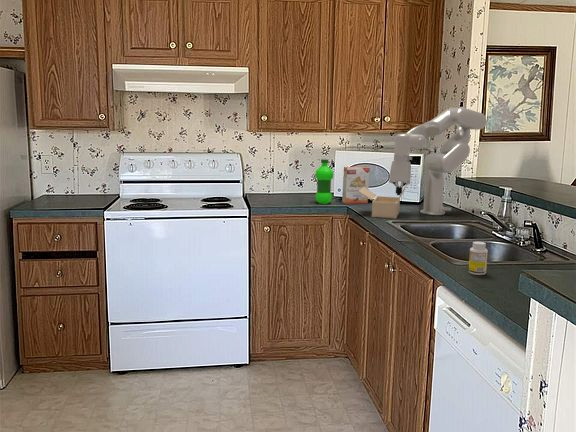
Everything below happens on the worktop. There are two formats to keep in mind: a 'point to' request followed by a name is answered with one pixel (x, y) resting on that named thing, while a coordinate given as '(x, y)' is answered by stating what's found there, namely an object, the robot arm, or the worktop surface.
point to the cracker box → (355, 184)
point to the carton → (385, 207)
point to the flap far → (367, 193)
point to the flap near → (402, 193)
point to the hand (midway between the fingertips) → (398, 195)
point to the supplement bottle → (478, 258)
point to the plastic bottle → (324, 183)
